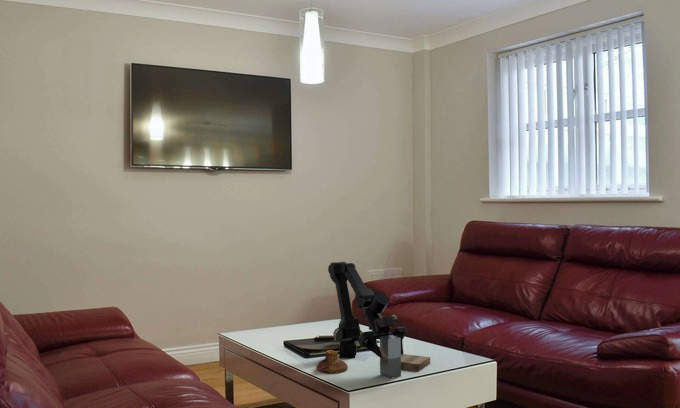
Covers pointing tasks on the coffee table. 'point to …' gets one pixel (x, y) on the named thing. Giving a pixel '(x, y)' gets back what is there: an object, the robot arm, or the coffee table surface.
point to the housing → (390, 356)
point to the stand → (414, 362)
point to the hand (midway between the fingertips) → (392, 355)
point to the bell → (331, 364)
